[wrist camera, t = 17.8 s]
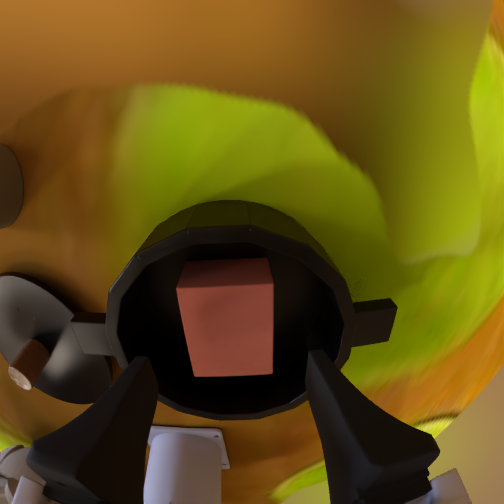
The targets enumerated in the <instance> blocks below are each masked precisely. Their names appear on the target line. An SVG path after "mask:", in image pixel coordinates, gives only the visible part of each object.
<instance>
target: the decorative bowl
mask: <svg viewBox="0 0 504 504" xmlns="http://www.w3.org/2000/svg"><path fill="white" fill-rule="evenodd" d="M30 448H31V447H24V446H23V445H16V446H12V447H10V448H7V449H5V450H3V451H2V452H1V453H0V504H12V502H13V499H14V496H15V493H16V490H17V487H18V484H19V481H20V478H21V476H25V477H27V478H29V479H32V480H34V481H36V482H38V483H40V484H42V485H43V486H45V483H46V481H44V480H43V479H42V478H41V477H40V476H38V475H37V474H36V473H35V472H34V471H32V470H31V469H30V468H29V467H28V466H27V464H26V462H25V460H26V457H27V455H28V453H29V450H30Z"/></svg>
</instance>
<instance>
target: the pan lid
mask: <svg viewBox="0 0 504 504" xmlns="http://www.w3.org/2000/svg"><path fill="white" fill-rule="evenodd" d="M77 312H79V311H78V310H77V309H76V308H75V307H74V306H73V305H72V304H71V303H70V302H69V301H68V300H67V299H66V298H65V297H63V296H62V295H61V294H59V293H58V292H57V291H56V290H54V289H53V288H51V287H50V286H48V285H47V284H45V283H44V282H42V281H40V280H38V279H36V278H34V277H31V276H29V275H26V274H22V273H18V272H7V273H3V274H0V352H1V354H2V355H3V357H4V358H5V359H6V361H7V362H8V363H9V364H10V366H9V367H8V373H9V375H10V377H11V378H12V379H13V381H14V382H15V383H16V384H18V385H19V386H20V387H22V388H24V389H26V390H31V389H32V388H33V386H34V387H36V388H37V389H39V390H41V391H42V392H44V393H46V394H48V395H50V396H52V397H54V398H56V399H59V400H62V401H65V402H69V403H75V404H91V403H95V402H96V401H97V400H98V399H99V398H100V397H101V396H102V395H103V394H104V393H105V392H106V391H107V390H108V389H109V388H110V386H111V383H112V378H113V374H112V366H111V361H110V358H109V356H104V355H93V354H84V353H83V351H82V349H81V347H80V345H79V343H78V340H77V338H76V336H75V333H74V331H73V329H72V326H71V324H70V321H71V319H72V318H73V316H74V315H75V314H76V313H77Z"/></svg>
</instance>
